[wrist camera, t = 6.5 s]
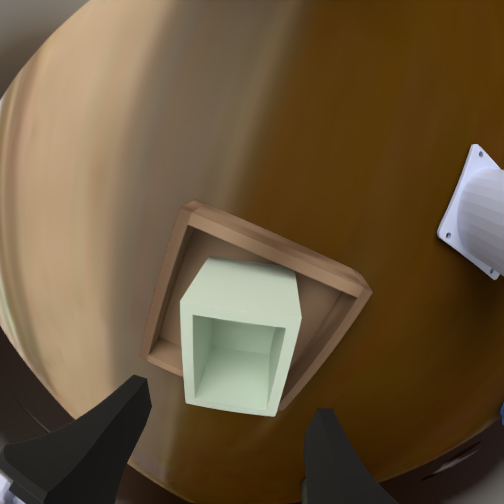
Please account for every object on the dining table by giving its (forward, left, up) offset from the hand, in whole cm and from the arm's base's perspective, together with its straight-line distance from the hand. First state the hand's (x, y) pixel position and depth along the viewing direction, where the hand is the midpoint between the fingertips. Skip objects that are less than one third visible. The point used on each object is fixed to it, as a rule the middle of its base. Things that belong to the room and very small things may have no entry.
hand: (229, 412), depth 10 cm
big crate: (0, +1, -10) cm, 10 cm away
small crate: (0, +1, -9) cm, 9 cm away
